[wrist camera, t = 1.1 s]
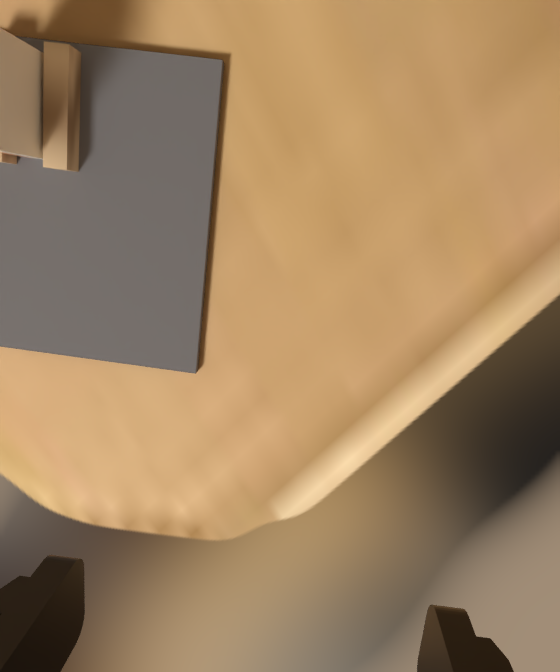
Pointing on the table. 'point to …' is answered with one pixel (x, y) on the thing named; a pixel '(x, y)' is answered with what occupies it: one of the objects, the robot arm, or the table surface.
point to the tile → (21, 97)
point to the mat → (117, 217)
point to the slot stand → (59, 108)
